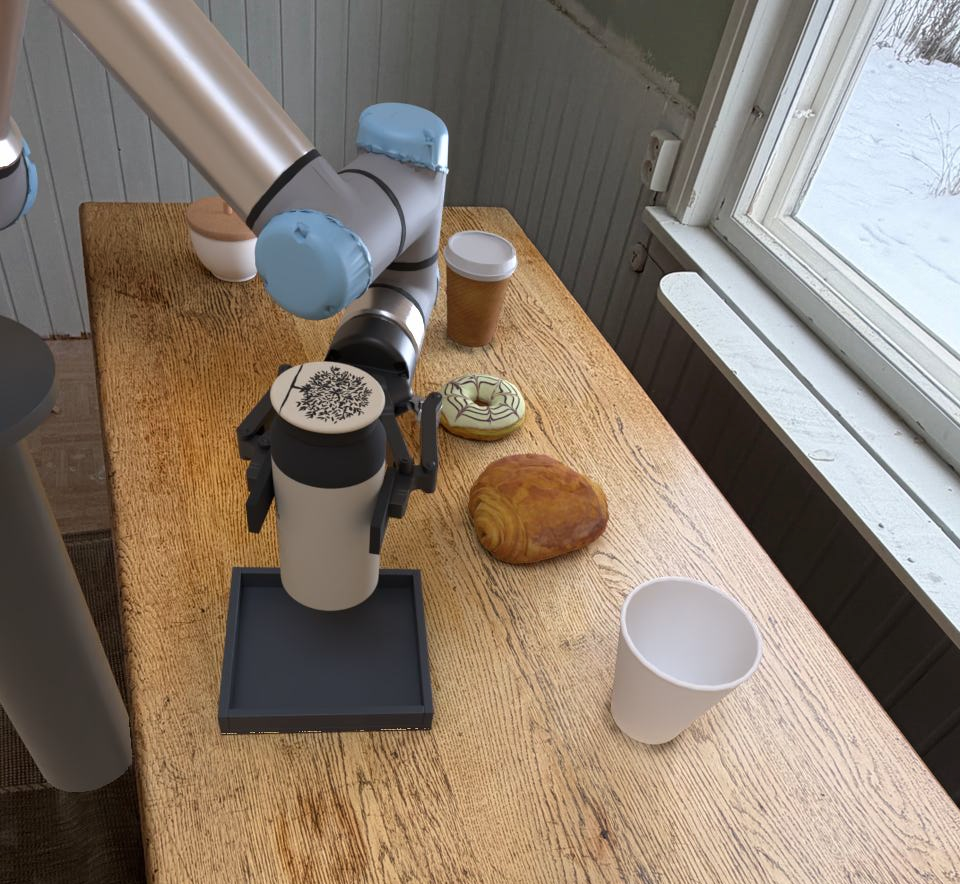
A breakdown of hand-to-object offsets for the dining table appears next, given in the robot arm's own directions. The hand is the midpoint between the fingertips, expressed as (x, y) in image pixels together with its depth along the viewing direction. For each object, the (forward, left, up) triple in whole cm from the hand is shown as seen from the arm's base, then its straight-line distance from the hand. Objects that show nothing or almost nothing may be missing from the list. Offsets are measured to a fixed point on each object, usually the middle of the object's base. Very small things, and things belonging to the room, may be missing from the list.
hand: (313, 529), depth 56 cm
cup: (+30, -3, -20) cm, 36 cm away
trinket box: (-12, +71, -20) cm, 74 cm away
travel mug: (+1, +5, -10) cm, 11 cm away
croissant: (+23, +22, -20) cm, 37 cm away
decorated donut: (+19, +40, -20) cm, 48 cm away
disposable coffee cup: (+20, +58, -20) cm, 65 cm away
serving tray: (+1, +4, -19) cm, 20 cm away
